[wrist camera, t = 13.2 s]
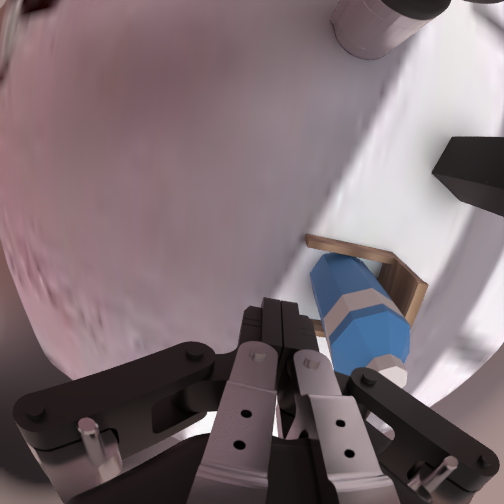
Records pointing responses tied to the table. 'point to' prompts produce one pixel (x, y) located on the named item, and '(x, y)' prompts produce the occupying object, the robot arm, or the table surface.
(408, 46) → the table surface
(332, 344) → the water bottle
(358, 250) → the brown wooden frame
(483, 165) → the black square pillar
